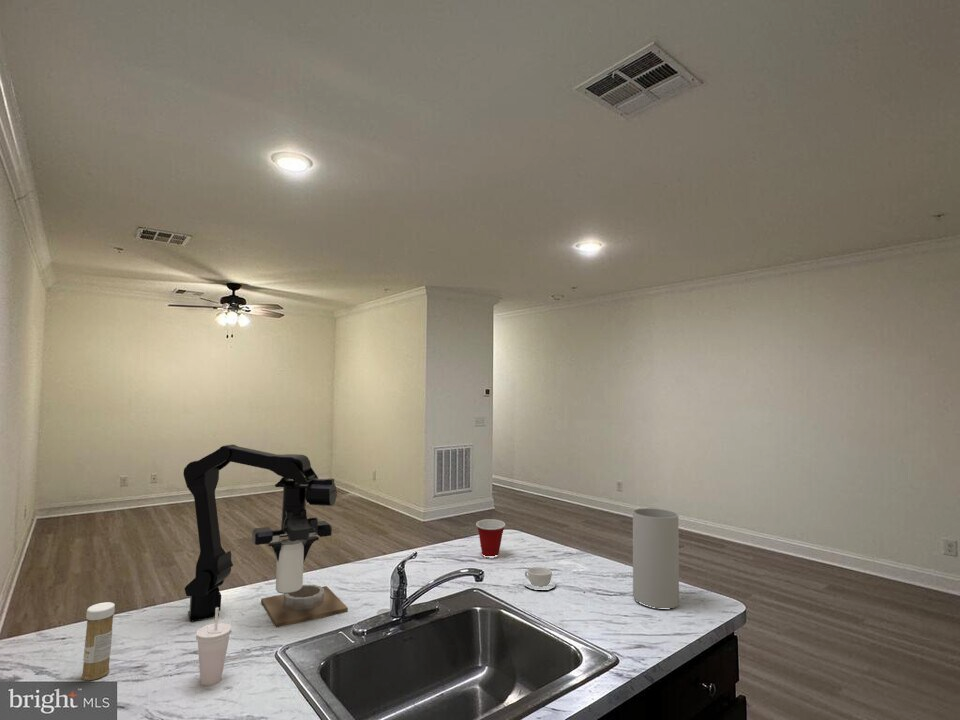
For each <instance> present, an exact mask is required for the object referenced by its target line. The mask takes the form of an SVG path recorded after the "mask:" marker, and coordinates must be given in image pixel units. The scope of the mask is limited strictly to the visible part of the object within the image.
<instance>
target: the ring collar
mask: <svg viewBox="0 0 960 720" xmlns="http://www.w3.org/2000/svg"><path fill="white" fill-rule="evenodd" d="M322 587H323V586H321V585H317V584H303V585H302V588H301V589H300V590H299V591H297V592H293V593H287V594H284V593H283V594H284V600H283V606H284V607H285V609H288V610H292V611H305V610H310V609H314V608H316V607H318V606H320V605H322V603H323V601H324V589H323V588H322Z"/></svg>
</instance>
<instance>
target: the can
mask: <svg viewBox="0 0 960 720" xmlns="http://www.w3.org/2000/svg"><path fill="white" fill-rule="evenodd" d="M279 541H280V542H281V543H282V545H281V550H280V554H279V560H278V561H277V560H276V566H275V567H276V571H275V572H276V573H275V590H276V592H277V593H279V594H287V593H293V592H297V591H299V590H300V589H301V588H302V585H304V584H303V582H304V580H303V579H304V564H303V562H304V563H305V561H304V545H303V543H302V541H303V540H296V541H290V540H289V539H288V538H284V539H282V540H279Z"/></svg>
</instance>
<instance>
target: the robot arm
mask: <svg viewBox="0 0 960 720" xmlns="http://www.w3.org/2000/svg"><path fill="white" fill-rule="evenodd" d="M230 463H236V464H241V465H245V466H251V467H254V468H260V469H264V470H268V471H270V472H272V473H274V474H275V475H277V476H279V477H281V478H280V480H279V481H278V482H276V483H275V484H274V487H275V488H283V489H282V490H283V491H282V507H281V523H280V529H274V530H272V529H271V527H269V526H264V527H256V528H254V529H253V530H252V532H251V540H252V542H253V544H254V545H255V546H256V545H257V546H260V545H267V546H268V547H271V548H272V551H273V554H274V556H275V558H276V562H277V561H278V560H279V554H280V550H281V545H282V543H281V542H280V541H281V540H280V539H281V538H286V537H288V538H287V539H289V540H290V541H296V540H303V541H302V543H303V545H304V562H303V565H304V563H305V562H306V561H305V560H306V558H307V556H308V553H309V551H310V548H311V547H312V545H313V544H314V542H316V541H319V539H320V538H319V537H321V538H322V537H323V538H324V537H330V536H332V535H333V534H332V531H333V529H332V525H330V524H329V523H328V522H327V521H326V520H321V521H320V520H318V517H309V518H308V517H307V509H306V506H307V505H306V504H307V503H308V505H310V506H322V507H323V506H327V507H333V506H334V505H335V503H336V502H337V501H336V500H337V495H338V494H337V493H338V489H337V485H336V484H335V478H319V476H318V475H317V474H316V472H315V470H314V469H313V467H312V466H311V465H312V464H311V461H310V459H309V457H308V456H307V455H304V454H291V453H289V454H276V453H271V452H267V451H262V450H256V449H251V448H249V447H248V448H247V447H242V446H238V445H237V444H226V445H222V446H220V447H219V448H218V449H216V450H215V451H214V452H211V453H210V454H207V455H206V456H203V457H202V458H200V459H198V460H194V461H190V462H189V463H188V464H186V466H185V467H184V468H183V478H184V482H185V485H186V488H187V489H188V490H189V491H190V493H191V495H192V496H193V499H194V500H193V501H194V507H195V508H194V509H195V516H196V518H195V519H196V527H197V533H198V543H199V555H198V559H197V561H196V563H195V574H194V575H195V577H194V578H193V579H192V580H191V581H190V582H188V584H187V585H186V586H185V587H184V592H185V595H186V596H187V597H189V609H188V611H187V615H188V619H189V622H196V621H197V622H198V621H203V620H207V619H212V618H215V610H216V608H217V607H218V608H219V611H218V617H219V616H220V613H219V612H221V605H222V594H221V591H220V588H219V587H220V586H222V585H223V584H224V581H225V580H226V579H227V578H228V577H229V575H230V574H231V573H232V567H234V564H233V562H232V552H231V550H229V551H225V549H224V548H223V547H222V543H221V542H222V541H221V535H220V526H219V525H220V524H219V518H218V509H217V508H218V507H217V501H216V500H217V499H216V489H217V486H218V484H219V479H220V471H221V470H223V469H224V468H225V467H227V466H228V465H229V464H230Z"/></svg>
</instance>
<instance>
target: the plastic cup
mask: <svg viewBox="0 0 960 720" xmlns="http://www.w3.org/2000/svg"><path fill="white" fill-rule="evenodd" d="M475 525H476V527H477V531H478V535H479V537H478V538H479V542H480V543H479V544H480V548H481V550H480V551H481V555H482V554H483V555H485V556H495V555H498V554H499V555H500V550H501V549H500V548H501V543H502V538H503V533H504V529H505V526H506V523H505V522H504V521H503V520H499V519H494V518H493V519H492V518H491V519H490V518H487V519H481V520H478V521H477V522H476V523H475ZM499 555H498V556H499Z"/></svg>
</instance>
